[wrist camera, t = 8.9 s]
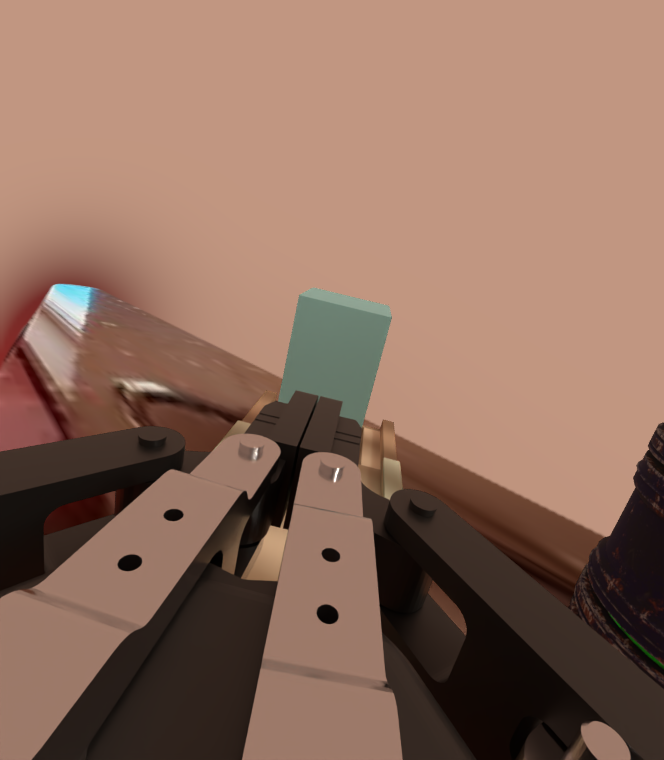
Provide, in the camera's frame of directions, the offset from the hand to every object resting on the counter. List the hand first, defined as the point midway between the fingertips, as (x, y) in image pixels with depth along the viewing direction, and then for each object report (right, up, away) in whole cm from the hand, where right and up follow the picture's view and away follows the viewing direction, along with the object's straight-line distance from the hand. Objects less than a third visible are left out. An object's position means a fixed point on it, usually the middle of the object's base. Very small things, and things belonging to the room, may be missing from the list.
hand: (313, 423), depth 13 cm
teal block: (-1, -5, +15) cm, 16 cm away
